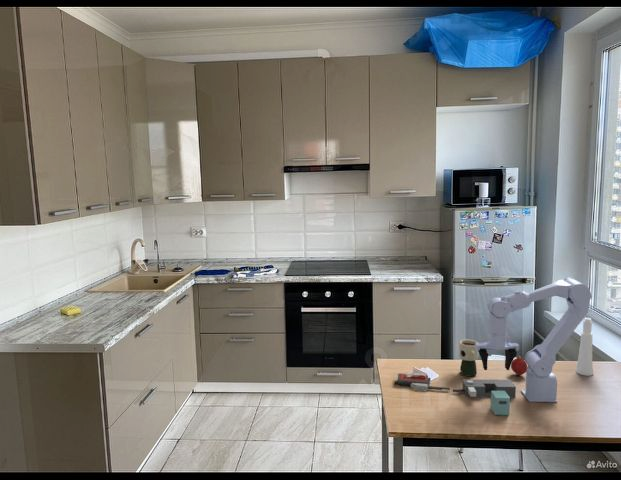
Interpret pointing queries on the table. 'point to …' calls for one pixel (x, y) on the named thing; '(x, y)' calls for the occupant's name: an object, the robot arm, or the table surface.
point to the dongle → (472, 391)
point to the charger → (500, 402)
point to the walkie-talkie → (416, 382)
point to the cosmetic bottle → (585, 350)
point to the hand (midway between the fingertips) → (496, 369)
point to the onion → (519, 366)
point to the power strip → (487, 387)
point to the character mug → (468, 357)
